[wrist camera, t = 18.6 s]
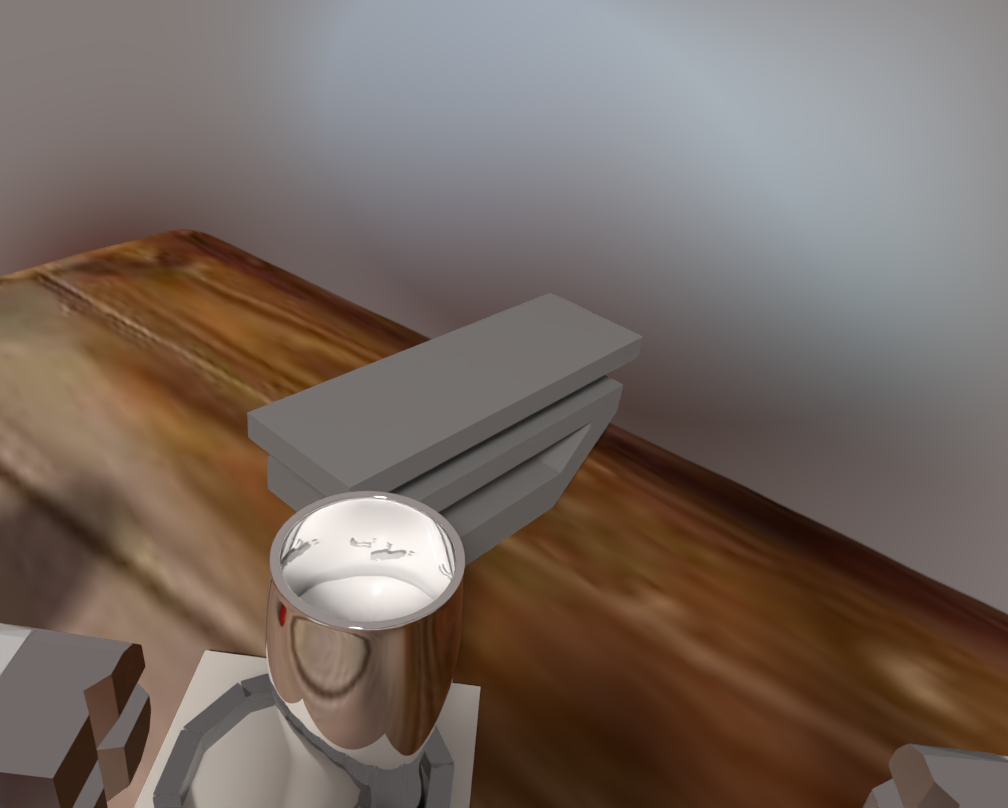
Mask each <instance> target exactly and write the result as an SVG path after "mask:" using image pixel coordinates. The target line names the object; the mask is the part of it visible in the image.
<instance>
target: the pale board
mask: <svg viewBox="0 0 1008 808" xmlns="http://www.w3.org/2000/svg"><path fill="white" fill-rule="evenodd" d="M267 673H268V669H267V658H260V657H252V656H245V655H237V654H229V653H222V652H214V651H207V650H205V652H204V654H203V656H202V658H201V661H200V663H199V665H198V667H197V670H196V672H195V674H194V676H193V678H192V681H191V683H190V685H189V687H188V690H187V692H186V694H185V696H184V698H183V701H182V703H181V705H180V707H179V709H178V712H177V714H176V716H175V718H174V721H173V723H172V725H171V727H170V729H169V732H168V734H167V736H166V738H165V740H164V743H163V745H162V747H161V749H160V752H159V754H158V756H157V758H156V760H155V763H154V765H153V767H152V769H151V772H150V774H149V776H148V778H147V780H146V783H145V785H144V787H143V789H142V791H141V794H140V796H139V798H138V800H137V803H136V805H135V807H134V808H154V804H153V798H152V797H153V793H154V790H155V788H156V786H157V784H158V781H159V779H160V777H161V774H162V772H163V770H164V768H165V765H166V763H167V761H168V758H169V756H170V754H171V752H172V749H173V747H174V745H175V742H176V740H177V738H178V736H179V733H180V731H181V730H184V728H183V727H184V726H185V725H186V724H187V723H189V722H190V721H191V720H192V719H193V718H195V717H196V716H197V715H198V714H200V713H201V712H202V711H203V710H204V709H206V708H207V707H208V706H209V705H211V704H212V703H213V702H214V701H215V700H217V699H218V698H219V697H220V696H222V695H223V694H224V693H225V692H226V691H228V690H229V689H230V688H231V687H233V686H234V685H235V684H236V683H239V684H240V685H241V681H242V680H246V679H249V678H253V677H256V676H260V675H263V674H267ZM480 688H481V687H480V686H472V685H465V684H457V683H452V684H451V687H450V690H449V693H448V696H447V699H446V702H445V705H444V707H443V710H442V712H441V714H440V717H439V719H438V721H437V724H436V726H437V728H438V730H439V732H440V734H441V736H442V739H443V741H444V743H445V745H446V747H447V749H448V751H449V753H450V755H451V757H452V759H453V761H454V764H453V765H454V774H453V782H452V791H451V800H450V808H469V805H470V794H471V784H472V773H473V762H474V752H475V741H476V730H477V720H478V709H479V698H480ZM291 766H292V760H291V754H290V751H289V747H288V744H287V741H286V739H285V736H284V733H283V730H282V727H281V724H280V721H279V717H278V714H277V711H276V708H275V706H271V707H268V708H265V709H261V710H258V711H255V712H251V713H249V714H248V715H247V716H246V717H245V718H244V719H243V720H241V721H240V722H239V723H238V724H237V725H236V726H234V727H233V728H232V729H231V730H230V731H229V732H227V733H226V734H225V735H224V736H223V737H222V738H221V739H219V740H218V741H217V742H216V743H215V744H214V745H212V746H211V747H210V748H209V749H208V750H207V751H205V752H204V754H203V756H202V759H201V761H200V764H199V766H198V768H197V771H196V773H195V776H194V778H193V781H192V783H191V786H190V788H189V791H188V793H187V796H186V798H185V801H184V803H183V806H182V808H283V796H284V791H285V787H286V783H287V780H288V776H289V773H290V770H291ZM421 769H422V774H423V780H424V786H425V808H426V803H427V796H428V789H429V780H428V778H427V776H426V773H425V771H424V769H423V767H422V765H421Z"/></svg>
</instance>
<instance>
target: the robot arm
mask: <svg viewBox="0 0 1008 808" xmlns="http://www.w3.org/2000/svg"><path fill="white" fill-rule="evenodd" d="M144 668H145V662H144V656H143V651H142V646H141V645H139V644H134V643H128V642H121V641H115V640H109V639H103V638H96V637H90V636H84V635H77V634H71V633H65V632H59V631H52V630H46V629H39V628H32V627H25V626H18V625H11V624H4V623H0V808H108V807H107V801H109V800H110V799H112V798H113V797H114V796H116V795H117V794H118V793H120V792H121V791H122V790H124V789H125V788H126V787H128V786H129V785H130V783H131V781H132V779H133V777H134V774H135V772H136V770H137V768H138V765H139V763H140V761H141V759H142V755H143V751H144V748H145V744H146V740H147V737H148V733H149V728H150V715H151V706H150V698H149V694H148V693H147V692H146V691H145V690H144V689H143V688H142V687H141V686H140V685H139V684H138V683H137V682H138V680H139V678H140V676H141V674H142V672H143V670H144ZM888 765H889V768H890V771H891V774H892V776H893V779H891V780H889V781H887V782H885V783H883V784H881V785H879V786H877V787H875V788H873V789H872V791H871V793H870V795H869V797H868V799H867V800H866V802H865V804H864V806H863V808H1008V756H998V755H996V754H993V753H985V752H976V751H968V750H959V749H951V748H942V747H933V746H925V745H916V744H906V745H904V746H902V747H900V748H898V749H897V750H896V752H895V753H894V755H893V756H892V758H891V759H890V761H889V763H888Z"/></svg>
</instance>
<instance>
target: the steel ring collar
mask: <svg viewBox="0 0 1008 808" xmlns="http://www.w3.org/2000/svg"><path fill="white" fill-rule="evenodd" d="M271 706H275V704H274V700H273V696H272V691H271V687H270V683H269V678H268V673H267V674H263V675H260V676H256V677H253V678H249V679H246V680H242V681H241V685H240V684H239V683H236V684H235V685H234V686H233V687H231V688H230V689H229V690H228V691H226V692H225V693H224V694H223V695H222V696H220V697H219V698H218V699H217V700H215V701H214V702H213V703H212V704H211V705H209V706H208V707H207V708H206V709H204V710H203V711H202V712H201V713H200V714H198V715H197V716H196V717H195V718H193V719H192V720H191V721H190V722H189V723H187V724H186V725H185V726H184V727H183V728H184V730H181V731H180V733H179V736H178V738H177V740H176V742H175V745H174V747H173V749H172V752H171V754H170V756H169V758H168V761H167V763H166V765H165V768H164V770H163V772H162V774H161V777H160V779H159V781H158V784H157V786H156V788H155V790H154V793H153V797H152V798H153V804H154V808H182V806H183V803H184V801H185V798H186V796H187V793H188V791H189V788H190V786H191V783H192V781H193V778H194V776H195V773H196V771H197V768H198V766H199V764H200V761H201V759H202V756H203V754H204V752H205V751H207V750H208V749H209V748H210V747H211V746H212V745H214V744H215V743H216V742H217V741H218V740H219V739H221V738H222V737H223V736H224V735H225V734H226V733H227V732H229V731H230V730H231V729H232V728H233V727H234V726H236V725H237V724H238V723H239V722H240V721H241V720H243V719H244V718H245V717H246V716H247V715H248V714H249V713H251V712H255V711H258V710H261V709H265V708H268V707H271ZM453 764H454V761H453V759H452V757H451V755H450V753H449V751H448V749H447V747H446V745H445V743H444V741H443V739H442V736H441V734H440V732H439V730H438V728H437V726H435V728H434V731H433V733H432V735H431V737H430V740H429V742H428V744H427V746H426V749H425V751H424V754H423V756H422V760H421V765H422V767H423V769H424V771H425V773H426V776H427V778H428V780H429V789H428V796H427V803H426V808H450V800H451V791H452V782H453V774H454V765H453Z"/></svg>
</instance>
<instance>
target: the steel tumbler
mask: <svg viewBox="0 0 1008 808" xmlns="http://www.w3.org/2000/svg"><path fill="white" fill-rule="evenodd" d="M465 563H466V561H465V551H464V547H463V544H462V541H461V539H460V537H459V535H458V533H457V532H456V530H455V529H454V528H453V526H452V525H451V524H450V523H449V522H448V521H447V520H446V519H445V518H444V517H443V516H442V515H441V514H439V513H438V512H437V511H435V510H434V509H432V508H431V507H429V506H427V505H425V504H423V503H421V502H419V501H417V500H414V499H412V498H409V497H405V496H402V495H398V494H393V493H388V492H379V491H355V492H347V493H341V494H336V495H332V496H329V497H326V498H323V499H320V500H318V501H315V502H313V503H311V504H309V505H307V506H306V507H304V508H302V509H301V510H299V511H298V512H297V513H295V514H294V515H293V516H292V517H290V518H289V519H288V520H287V521H286V522H285V523H284V525H283V526H282V527H281V528H280V530H279V531H278V533H277V535H276V536H275V538H274V541H273V543H272V546H271V550H270V556H269V566H270V573H269V584H268V594H267V607H266V657H267V669H268V678H269V683H270V687H271V691H272V696H273V700H274V704H275V708H276V711H277V714H278V717H279V721H280V724H281V727H282V730H283V733H284V736H285V739H286V741H287V744H288V747H289V751H290V754H291V760H292V766H291V770H290V773H289V776H288V780H287V783H286V787H285V791H284V796H283V808H425V786H424V780H423V774H422V769H421V760H422V756H423V754H424V751H425V749H426V746H427V744H428V742H429V740H430V737H431V735H432V733H433V731H434V728H435V726H436V724H437V721H438V719H439V717H440V714H441V712H442V710H443V707H444V705H445V702H446V699H447V696H448V693H449V690H450V687H451V684H452V681H453V677H454V672H455V667H456V662H457V657H458V652H459V646H460V637H461V627H462V613H463V580H464V571H465Z"/></svg>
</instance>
